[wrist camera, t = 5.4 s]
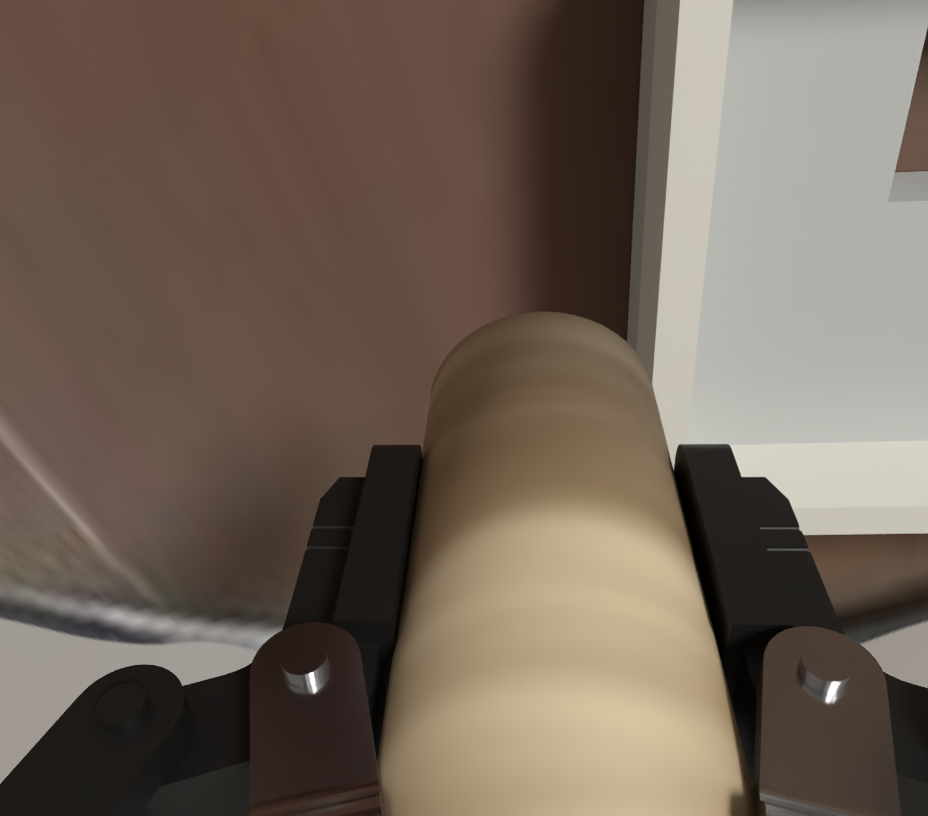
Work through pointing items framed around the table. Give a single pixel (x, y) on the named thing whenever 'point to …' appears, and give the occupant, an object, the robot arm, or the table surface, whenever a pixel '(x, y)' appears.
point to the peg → (554, 597)
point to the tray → (787, 249)
